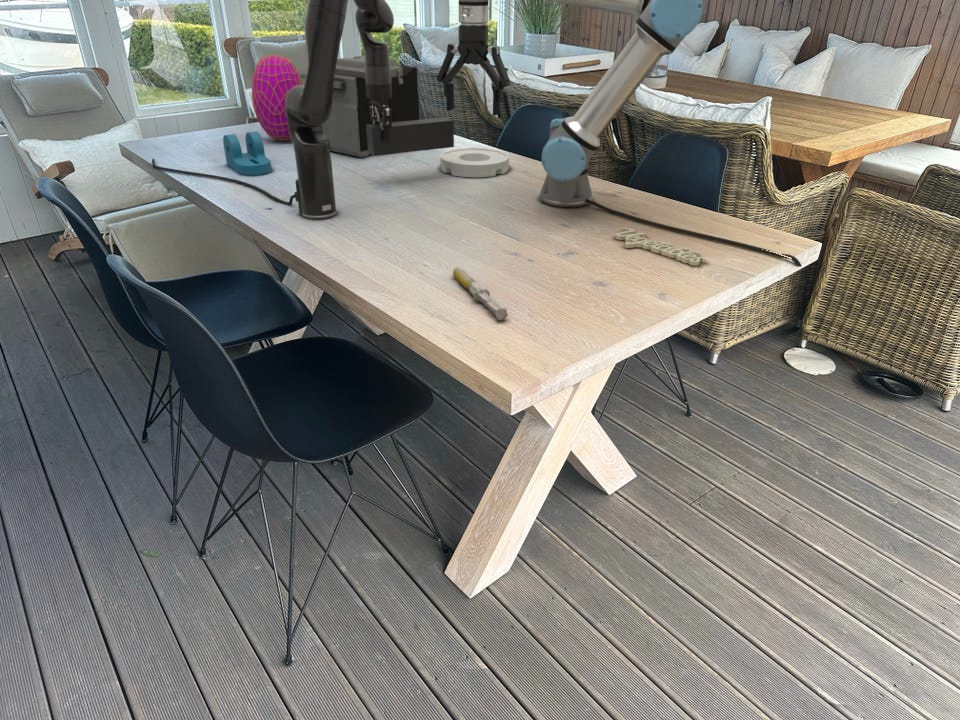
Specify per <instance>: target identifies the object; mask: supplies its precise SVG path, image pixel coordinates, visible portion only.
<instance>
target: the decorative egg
mask: <svg viewBox="0 0 960 720" xmlns="http://www.w3.org/2000/svg"><path fill="white" fill-rule="evenodd" d="M253 70H254V71H253V73H252V77H251V101H252V107H253V110H254V114H255V116H256V118H257V121H258V123H259V125H260V127H261V128H262V130H263V131H264V133H266V135H267V136H268V137H270V138H271V139H273V140H275V141H282V142H286V141H291V138H290V134H289V128H288V122H287V116H286V109H285V101H286V96H287V94H288V92H289V90H290V89H291V88H293V87H294V86H297V85H304V84H303V81H302V77H301V75H300V73H299V71H298V69H297V67H296V66H295V65H294V63H293V62H292V61H291V60H290V59H288V58H287V57H285V56H282V55H280V54H268V55H265V56H262V57H261V58H260V59H259V60H258V61H257V62H256V65H255V68H254V69H253Z"/></svg>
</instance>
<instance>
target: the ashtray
mask: <svg viewBox="0 0 960 720" xmlns="http://www.w3.org/2000/svg"><path fill="white" fill-rule="evenodd" d="M439 156H440V157H439V159H440V170H441V172H443V173H446V174H451V175H452V176H454V177H461V178H490V177H496V175H503V174H505V173H507V172H509V169H510V156H509V154H508V153H506V152H505V151H502V150H498V149H495V148H486V147H463V148H454V149H449V150H446V151H444V152H442V153H441V154H440V155H439Z"/></svg>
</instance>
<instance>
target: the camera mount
mask: <svg viewBox="0 0 960 720" xmlns="http://www.w3.org/2000/svg"><path fill="white" fill-rule="evenodd" d="M222 140H223V141H222V143H223V149H224V150H223V151H224V156H225V161H226V165H227V166H228V167H230V168H231V169H232V170H234V171H236V172H237V173H238V174H239V175H244V176H260V175H265V174H268V173H271V172H272V164H271V159H270V158H268V157H267V156H266V153H265V145H264V141H263V139H262V136H261V134H260V132H258V131H247V132H246V133H245V146H246V152H243V151H242V150H243V149H242V146H241V142H240V140H239V138H238V135H236V134H235V133H231V134H224V135H223V138H222Z"/></svg>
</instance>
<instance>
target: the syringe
mask: <svg viewBox="0 0 960 720" xmlns="http://www.w3.org/2000/svg"><path fill="white" fill-rule="evenodd" d="M452 274H453V277H454V279H455V280H457V281H458V282H459V283H460V285H462V287H464V289H466V290H467V291H468V293H470V295H471V296H472V298H473V300H474V302H477V303H478V302H480V303H482V304H483V305H484V306H485V307H486V308H487V309H488V310H489V311H490V312H491V313H492V314H493V315H494V316H495V317H496V320H497V321H503V320H504V319H506V318H507V317H509V314H508V310H507V308H506V307H502V306H501V305H500V303H498V302H497V301H496V300H494V299H493V298H492V297H491V296H490V295H491V293H490V290H488V289H486V288H483V287H482V286H481V285H480V284H479V283H478V282H477V281H476V280H474V278H473V277H471V275H469V274H468V273H467V272H466V270H465V269H464V268H463V267H462V266H456V267H454V268H453V271H452Z"/></svg>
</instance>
